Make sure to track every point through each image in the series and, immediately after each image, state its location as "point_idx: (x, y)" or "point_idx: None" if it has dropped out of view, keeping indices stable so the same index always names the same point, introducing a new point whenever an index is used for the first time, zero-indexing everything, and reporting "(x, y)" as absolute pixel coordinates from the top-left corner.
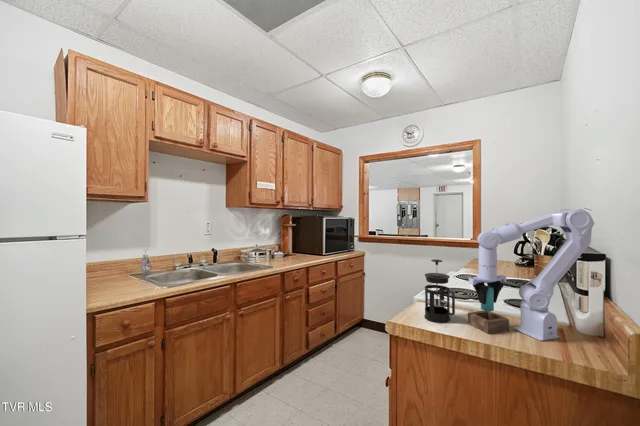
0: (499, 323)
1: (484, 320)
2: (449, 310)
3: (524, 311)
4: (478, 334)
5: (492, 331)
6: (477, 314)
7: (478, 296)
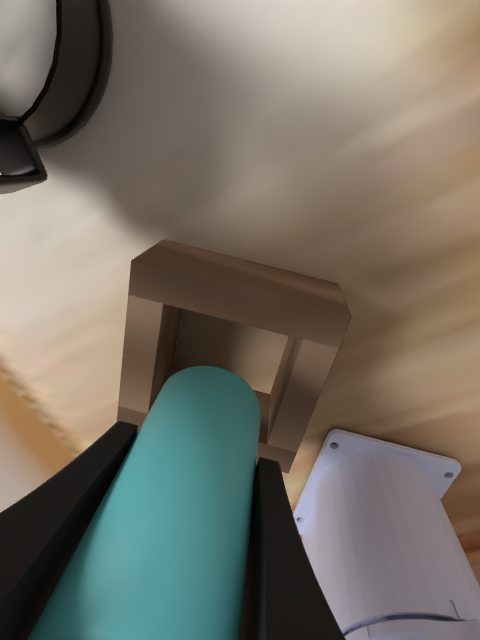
0: None
1: (121, 405)
2: (5, 123)
3: (333, 603)
4: (94, 360)
5: None
6: (197, 307)
7: (71, 469)
